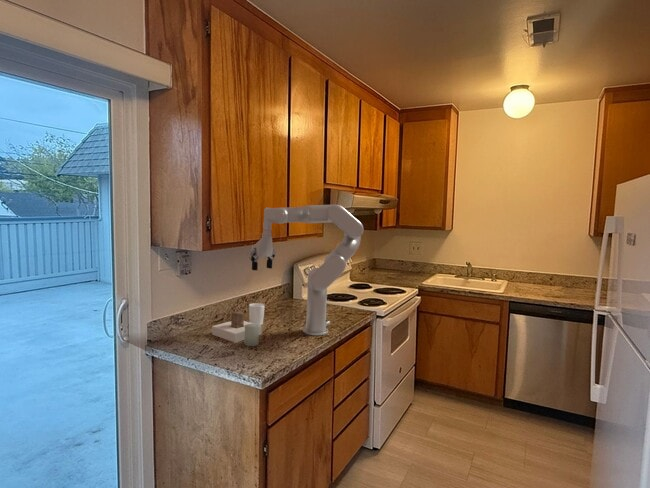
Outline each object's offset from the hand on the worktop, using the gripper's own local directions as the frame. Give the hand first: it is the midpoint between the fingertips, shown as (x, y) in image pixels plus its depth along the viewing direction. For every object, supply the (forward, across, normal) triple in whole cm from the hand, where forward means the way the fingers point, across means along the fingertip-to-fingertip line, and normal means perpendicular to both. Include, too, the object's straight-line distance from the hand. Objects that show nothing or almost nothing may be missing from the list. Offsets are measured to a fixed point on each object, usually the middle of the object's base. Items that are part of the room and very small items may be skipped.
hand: (262, 269), depth 185 cm
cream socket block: (+30, +11, -4) cm, 32 cm away
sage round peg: (+30, +15, +10) cm, 35 cm away
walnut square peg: (+30, +11, -4) cm, 32 cm away
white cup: (+31, -7, -10) cm, 33 cm away
